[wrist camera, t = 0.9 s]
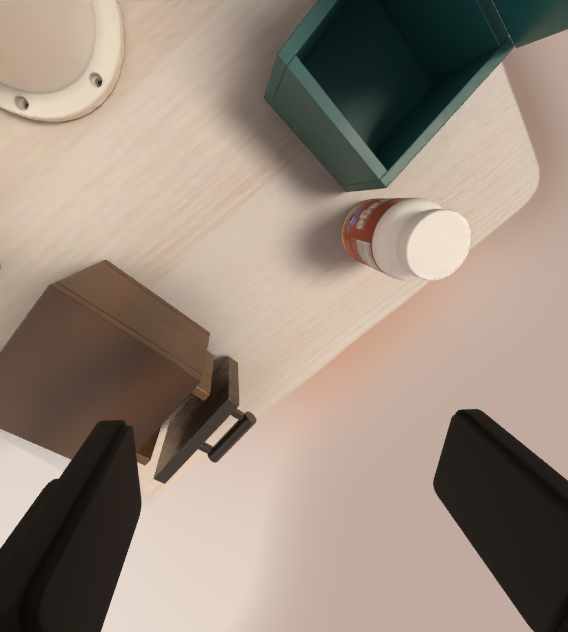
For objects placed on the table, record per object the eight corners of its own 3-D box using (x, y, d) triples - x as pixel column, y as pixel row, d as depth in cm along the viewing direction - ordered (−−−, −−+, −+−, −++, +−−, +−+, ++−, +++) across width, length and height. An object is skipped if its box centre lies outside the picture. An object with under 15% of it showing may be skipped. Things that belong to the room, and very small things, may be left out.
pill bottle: (384, 186, 29) (469, 176, 18) (406, 242, 31) (492, 261, 21) (329, 220, 29) (382, 229, 19) (354, 273, 31) (414, 307, 21)
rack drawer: (266, 382, 33) (275, 427, 26) (208, 443, 35) (202, 501, 28) (151, 302, 28) (125, 334, 21) (88, 379, 30) (46, 430, 23)
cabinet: (210, 332, 31) (202, 380, 23) (144, 408, 33) (113, 478, 24) (106, 259, 27) (49, 284, 18) (37, 350, 29) (-44, 410, 20)
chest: (346, 192, 28) (386, 188, 21) (263, 97, 25) (276, 53, 17) (438, 89, 26) (515, 46, 19) (363, -30, 23) (423, -138, 16)
